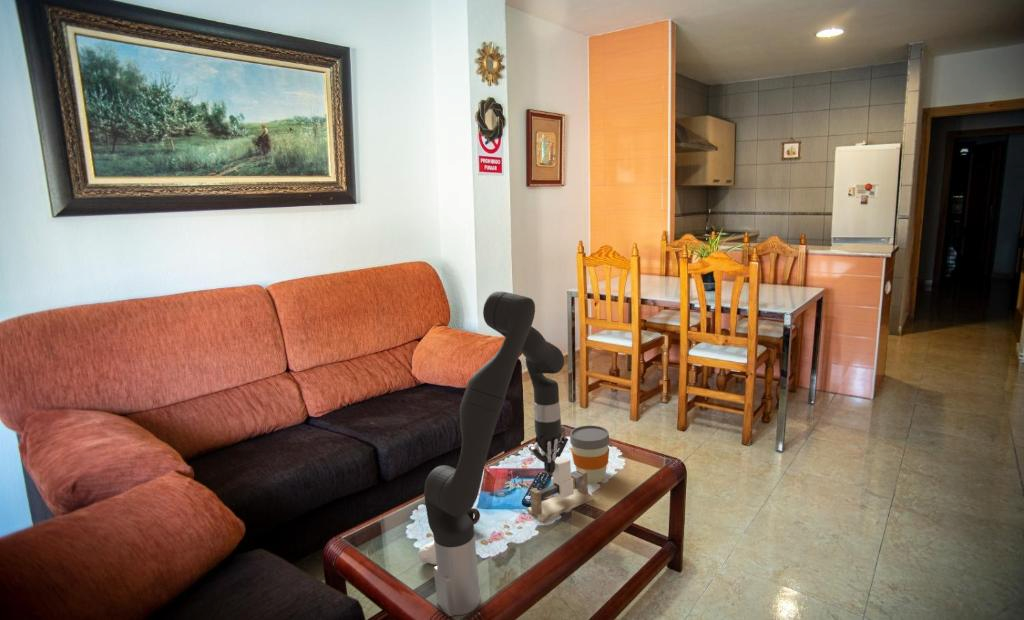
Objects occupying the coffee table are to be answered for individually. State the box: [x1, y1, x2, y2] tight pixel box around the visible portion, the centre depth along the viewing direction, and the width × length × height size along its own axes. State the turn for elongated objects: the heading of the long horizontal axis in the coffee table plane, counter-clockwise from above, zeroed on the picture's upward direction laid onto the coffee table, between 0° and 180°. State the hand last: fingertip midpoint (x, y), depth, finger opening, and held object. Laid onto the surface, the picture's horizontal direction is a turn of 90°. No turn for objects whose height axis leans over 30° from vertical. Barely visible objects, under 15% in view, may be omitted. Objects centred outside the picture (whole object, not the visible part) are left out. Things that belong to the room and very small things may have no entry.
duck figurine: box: [417, 531, 437, 566], centre depth 155 cm, size 12×8×11 cm
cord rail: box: [526, 469, 594, 523], centre depth 178 cm, size 19×7×8 cm, turn 124°
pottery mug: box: [467, 507, 481, 526], centre depth 171 cm, size 12×10×8 cm
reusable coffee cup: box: [569, 424, 611, 484], centre depth 193 cm, size 13×13×15 cm
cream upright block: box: [550, 456, 574, 499], centre depth 178 cm, size 4×5×10 cm
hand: (550, 472), depth 175 cm, fingers closed
